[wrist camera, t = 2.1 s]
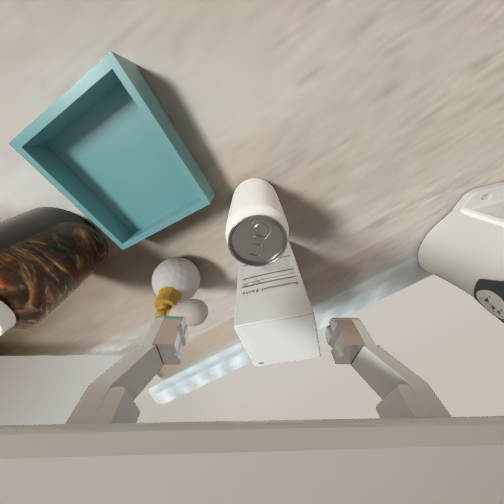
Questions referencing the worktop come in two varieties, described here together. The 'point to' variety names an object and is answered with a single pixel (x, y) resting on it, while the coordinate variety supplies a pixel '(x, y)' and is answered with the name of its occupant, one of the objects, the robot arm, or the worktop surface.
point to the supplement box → (275, 313)
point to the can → (256, 224)
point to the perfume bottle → (178, 291)
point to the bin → (116, 154)
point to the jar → (44, 263)
